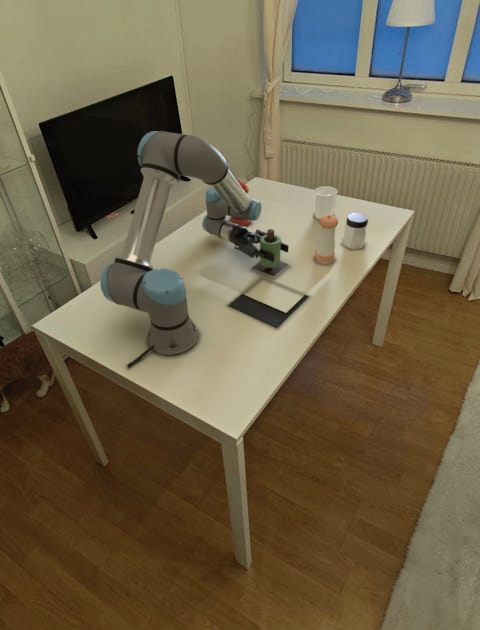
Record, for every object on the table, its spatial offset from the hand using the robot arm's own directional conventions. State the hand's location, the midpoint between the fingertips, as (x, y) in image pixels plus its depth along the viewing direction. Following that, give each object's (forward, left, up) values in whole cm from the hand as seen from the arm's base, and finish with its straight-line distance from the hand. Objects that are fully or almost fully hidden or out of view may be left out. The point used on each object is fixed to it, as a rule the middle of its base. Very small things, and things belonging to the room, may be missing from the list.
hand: (280, 253), depth 157 cm
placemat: (-17, -6, -9) cm, 20 cm away
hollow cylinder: (0, +5, -6) cm, 8 cm away
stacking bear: (+26, +38, -9) cm, 46 cm away
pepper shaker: (+18, -9, -9) cm, 22 cm away
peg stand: (+1, +5, -9) cm, 10 cm away
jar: (+34, -13, -9) cm, 38 cm away
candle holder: (+49, +9, -9) cm, 51 cm away
